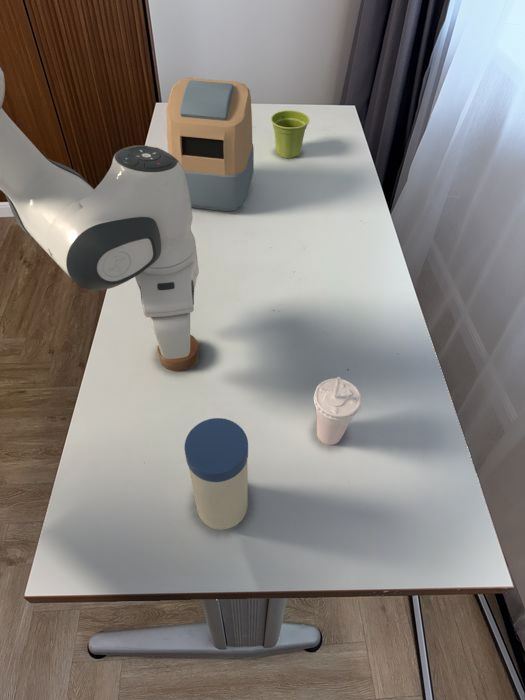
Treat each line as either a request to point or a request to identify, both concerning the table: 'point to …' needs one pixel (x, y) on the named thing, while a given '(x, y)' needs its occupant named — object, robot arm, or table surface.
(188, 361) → the brown lid
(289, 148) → the plant pot
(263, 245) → the table surface
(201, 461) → the bottle
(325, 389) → the smoothie
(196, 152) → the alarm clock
